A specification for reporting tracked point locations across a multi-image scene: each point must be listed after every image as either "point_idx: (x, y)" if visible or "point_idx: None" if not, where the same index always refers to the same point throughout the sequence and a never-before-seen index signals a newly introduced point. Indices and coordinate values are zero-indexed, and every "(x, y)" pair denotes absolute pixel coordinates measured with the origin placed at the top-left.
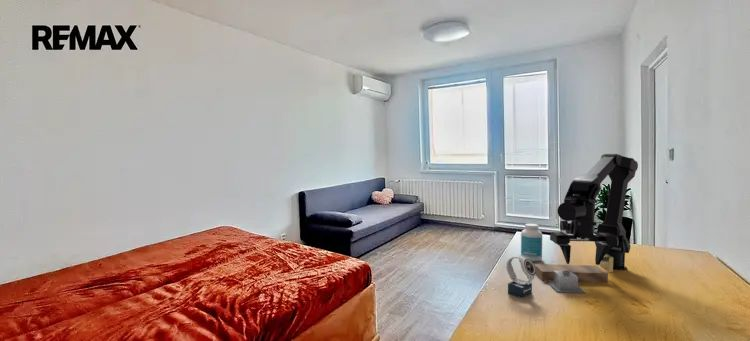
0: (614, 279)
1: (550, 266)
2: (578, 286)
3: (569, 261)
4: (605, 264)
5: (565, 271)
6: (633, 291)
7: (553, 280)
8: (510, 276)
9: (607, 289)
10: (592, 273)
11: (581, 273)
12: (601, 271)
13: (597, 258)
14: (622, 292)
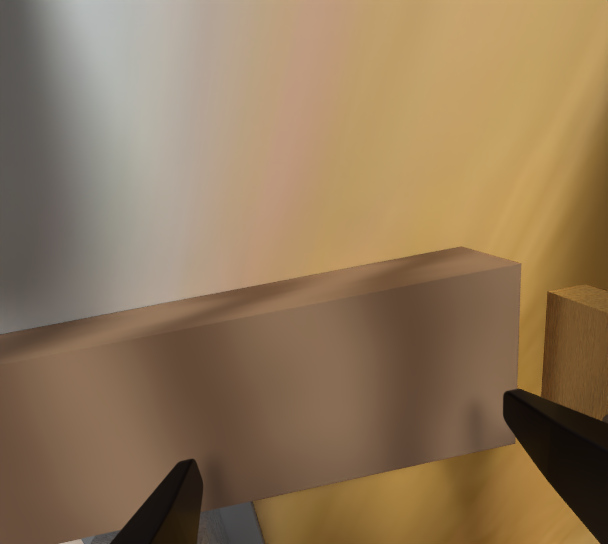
0: (539, 320)
1: (36, 421)
2: (255, 520)
3: (193, 542)
4: (592, 411)
5: None
6: (533, 474)
7: (96, 540)
8: None
9: (409, 490)
10: (391, 466)
11: (304, 481)
12: (483, 418)
13: (580, 484)
14: (468, 503)
